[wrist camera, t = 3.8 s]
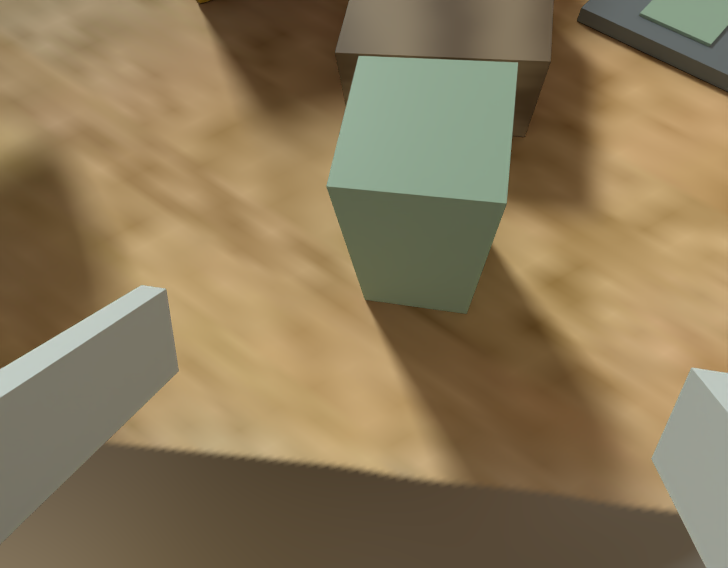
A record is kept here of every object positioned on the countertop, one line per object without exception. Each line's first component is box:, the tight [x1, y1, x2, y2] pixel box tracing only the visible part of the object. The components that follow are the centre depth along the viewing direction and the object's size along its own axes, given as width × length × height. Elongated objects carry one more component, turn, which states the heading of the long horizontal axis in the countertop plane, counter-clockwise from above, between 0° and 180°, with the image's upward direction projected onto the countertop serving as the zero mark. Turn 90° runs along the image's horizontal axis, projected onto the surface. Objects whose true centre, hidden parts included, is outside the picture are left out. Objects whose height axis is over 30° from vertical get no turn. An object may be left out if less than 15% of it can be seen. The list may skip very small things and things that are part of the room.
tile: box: [577, 0, 728, 92], centre depth 30 cm, size 12×8×1 cm, turn 46°
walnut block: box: [335, 0, 554, 137], centre depth 29 cm, size 12×12×6 cm
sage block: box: [327, 56, 518, 314], centre depth 21 cm, size 6×6×12 cm
